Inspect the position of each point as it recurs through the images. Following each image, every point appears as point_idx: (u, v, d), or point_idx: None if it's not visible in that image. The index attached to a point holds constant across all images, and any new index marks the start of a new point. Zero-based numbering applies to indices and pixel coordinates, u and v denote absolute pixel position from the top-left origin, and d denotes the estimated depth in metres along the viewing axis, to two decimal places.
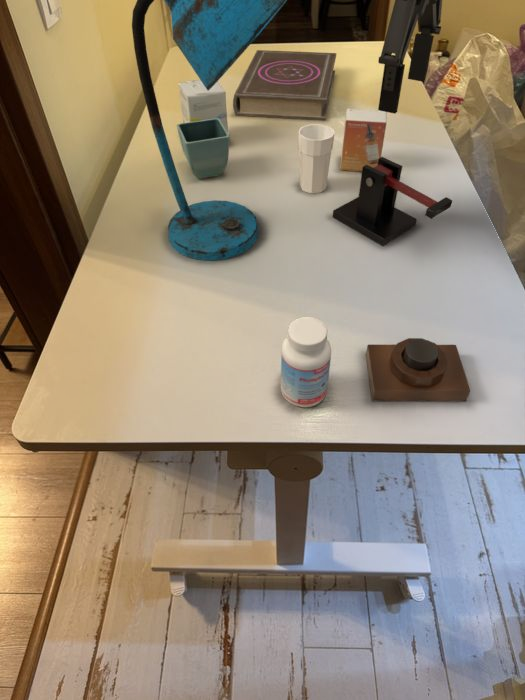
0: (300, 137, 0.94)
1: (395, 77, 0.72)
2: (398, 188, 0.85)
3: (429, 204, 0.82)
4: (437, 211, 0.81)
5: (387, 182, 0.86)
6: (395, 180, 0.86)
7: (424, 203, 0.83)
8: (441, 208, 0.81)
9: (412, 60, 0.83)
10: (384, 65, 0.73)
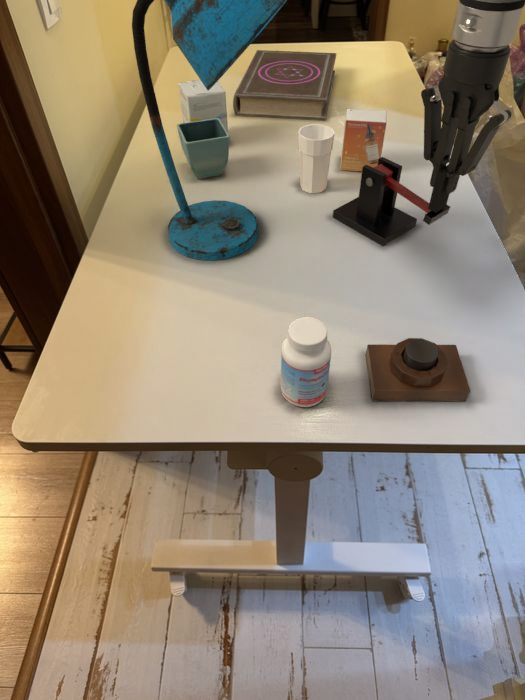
0: (300, 137, 0.94)
1: None
2: (397, 190, 0.86)
3: (427, 209, 0.83)
4: (435, 218, 0.82)
5: (387, 183, 0.87)
6: (395, 182, 0.86)
7: (422, 208, 0.84)
8: (439, 214, 0.82)
9: None
10: (445, 176, 0.77)
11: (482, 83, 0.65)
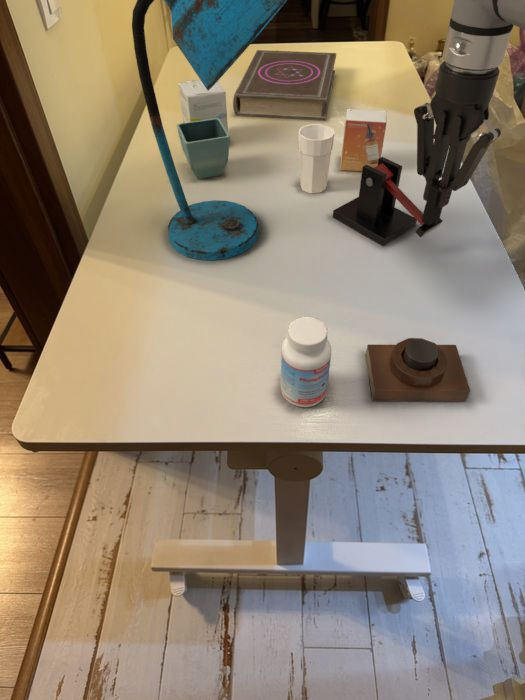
0: (300, 137, 0.94)
1: None
2: (395, 195, 0.87)
3: (421, 221, 0.85)
4: (427, 231, 0.84)
5: (386, 185, 0.87)
6: (394, 185, 0.87)
7: (416, 218, 0.86)
8: (431, 228, 0.84)
9: None
10: (437, 191, 0.79)
11: (472, 103, 0.67)
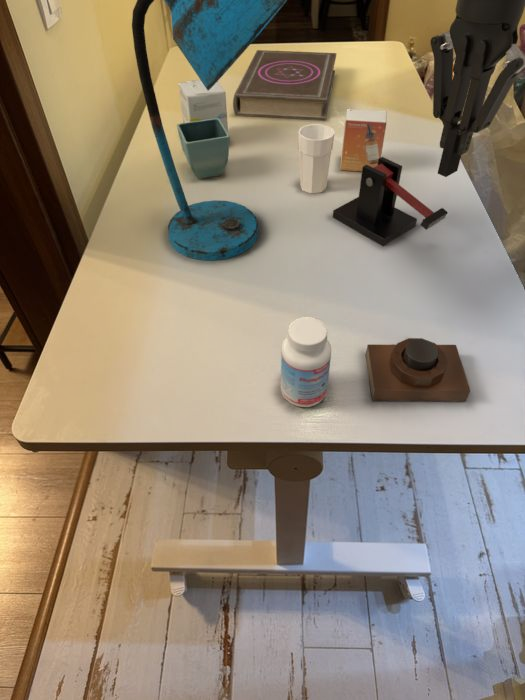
0: (300, 137, 0.94)
1: None
2: (397, 192, 0.86)
3: (425, 214, 0.84)
4: (432, 223, 0.83)
5: (386, 184, 0.87)
6: (395, 183, 0.86)
7: (420, 212, 0.84)
8: (436, 220, 0.83)
9: None
10: (456, 134, 0.70)
11: (499, 22, 0.58)
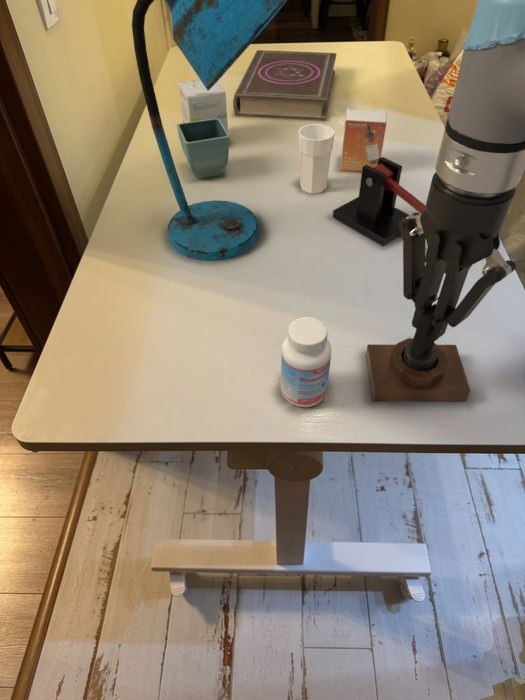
0: (300, 137, 0.94)
1: None
2: (397, 192, 0.86)
3: None
4: None
5: (386, 184, 0.87)
6: (395, 183, 0.86)
7: (421, 211, 0.84)
8: None
9: None
10: (430, 322, 0.60)
11: (477, 233, 0.48)
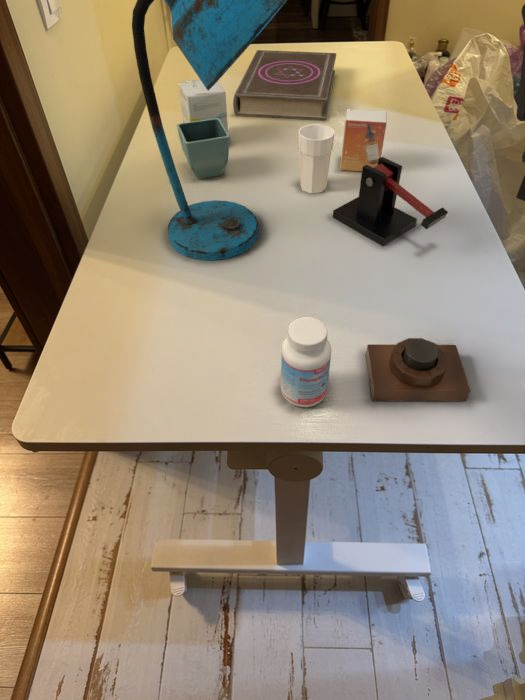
0: (300, 137, 0.94)
1: None
2: (397, 192, 0.86)
3: (425, 213, 0.84)
4: (433, 223, 0.83)
5: (386, 184, 0.87)
6: (395, 183, 0.86)
7: (421, 211, 0.84)
8: (437, 219, 0.83)
9: None
10: None
11: None
